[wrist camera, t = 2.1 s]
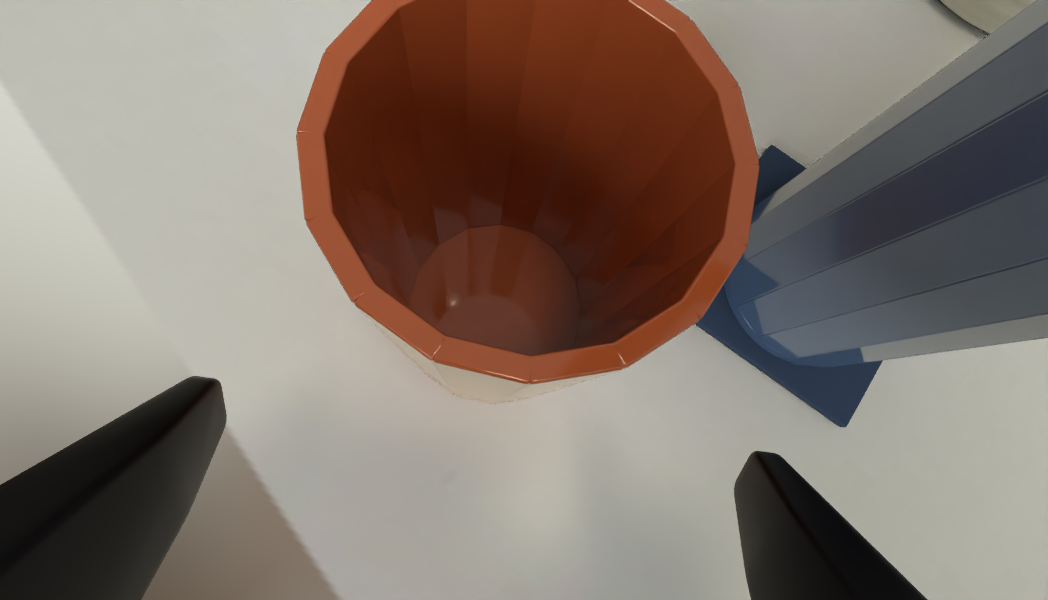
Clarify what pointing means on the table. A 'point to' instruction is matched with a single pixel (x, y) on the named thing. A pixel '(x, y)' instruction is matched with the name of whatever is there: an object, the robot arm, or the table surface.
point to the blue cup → (915, 221)
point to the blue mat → (817, 387)
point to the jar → (987, 11)
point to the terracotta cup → (526, 183)
